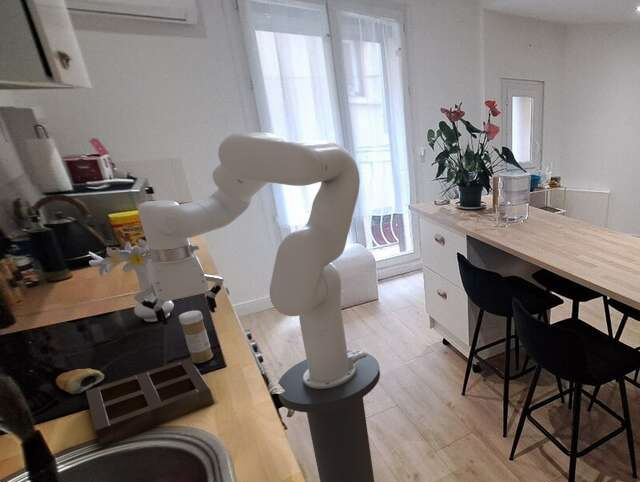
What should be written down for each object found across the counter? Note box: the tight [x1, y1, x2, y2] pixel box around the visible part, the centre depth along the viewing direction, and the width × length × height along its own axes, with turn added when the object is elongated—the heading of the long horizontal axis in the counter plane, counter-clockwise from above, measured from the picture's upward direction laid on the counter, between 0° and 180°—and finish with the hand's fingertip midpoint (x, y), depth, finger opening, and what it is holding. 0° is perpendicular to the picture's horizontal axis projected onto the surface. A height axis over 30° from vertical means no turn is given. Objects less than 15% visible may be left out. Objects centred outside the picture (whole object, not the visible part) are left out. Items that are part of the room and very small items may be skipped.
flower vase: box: [88, 238, 175, 323], centre depth 124 cm, size 13×18×25 cm
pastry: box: [55, 367, 105, 395], centre depth 96 cm, size 9×7×4 cm
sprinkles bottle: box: [178, 310, 214, 364], centre depth 106 cm, size 5×5×14 cm
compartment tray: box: [85, 357, 215, 448], centre depth 90 cm, size 18×18×4 cm
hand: (189, 316), depth 104 cm, fingers open, 9 cm apart
